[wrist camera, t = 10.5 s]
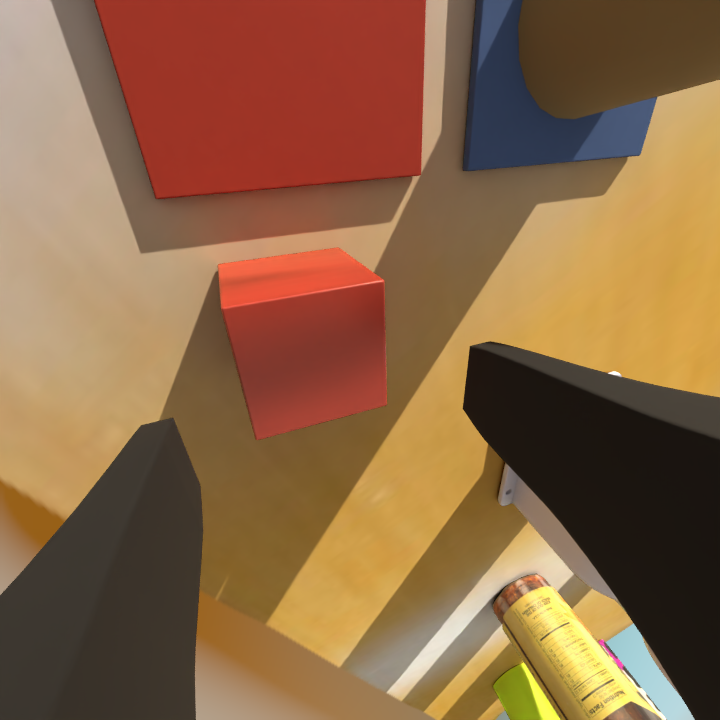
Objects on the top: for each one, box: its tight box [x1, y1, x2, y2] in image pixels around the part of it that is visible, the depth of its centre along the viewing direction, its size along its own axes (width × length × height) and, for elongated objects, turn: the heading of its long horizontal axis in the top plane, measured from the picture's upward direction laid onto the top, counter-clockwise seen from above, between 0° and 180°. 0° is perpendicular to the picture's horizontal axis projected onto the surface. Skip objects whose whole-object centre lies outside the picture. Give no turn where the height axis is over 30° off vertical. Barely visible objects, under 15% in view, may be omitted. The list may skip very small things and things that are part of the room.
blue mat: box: [463, 0, 657, 171], centre depth 13 cm, size 9×9×1 cm
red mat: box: [94, 0, 426, 199], centre depth 10 cm, size 9×9×1 cm
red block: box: [218, 248, 387, 440], centre depth 13 cm, size 4×4×4 cm
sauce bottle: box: [493, 574, 662, 720], centre depth 28 cm, size 6×6×20 cm
